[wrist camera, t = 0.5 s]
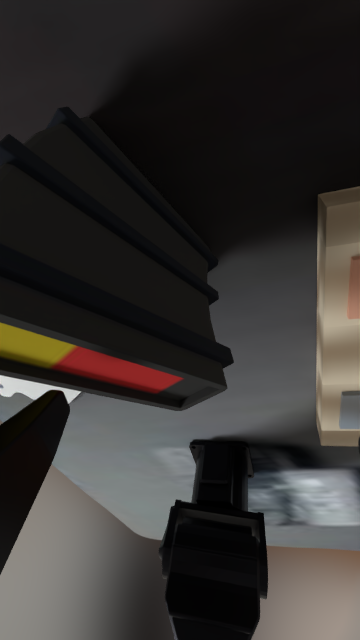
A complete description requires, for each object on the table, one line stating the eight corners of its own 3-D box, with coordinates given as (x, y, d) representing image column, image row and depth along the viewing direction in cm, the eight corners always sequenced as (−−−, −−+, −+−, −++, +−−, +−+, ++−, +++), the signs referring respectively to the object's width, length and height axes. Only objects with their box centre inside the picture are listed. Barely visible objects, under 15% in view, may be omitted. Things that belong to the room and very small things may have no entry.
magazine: (26, 50, 15) (-85, 276, 6) (203, 206, 23) (262, 393, 14) (-5, 115, 17) (-122, 356, 8) (169, 237, 25) (203, 419, 16)
